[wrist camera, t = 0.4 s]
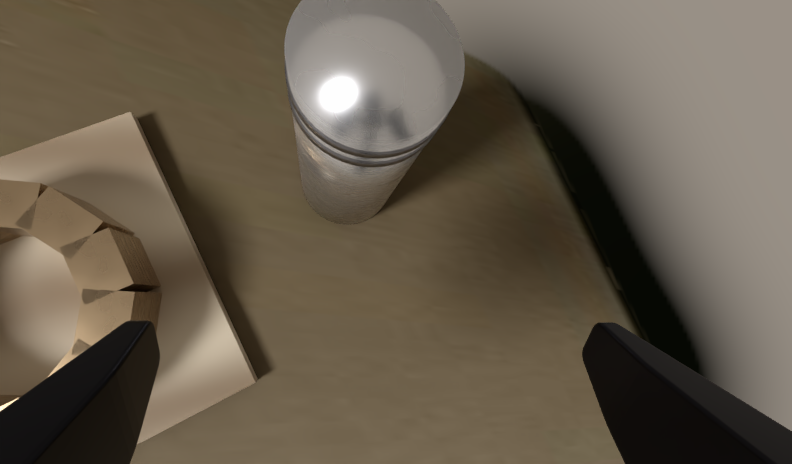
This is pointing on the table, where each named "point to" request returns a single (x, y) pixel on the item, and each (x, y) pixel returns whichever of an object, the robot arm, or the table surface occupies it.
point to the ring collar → (84, 259)
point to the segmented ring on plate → (180, 286)
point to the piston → (367, 96)
